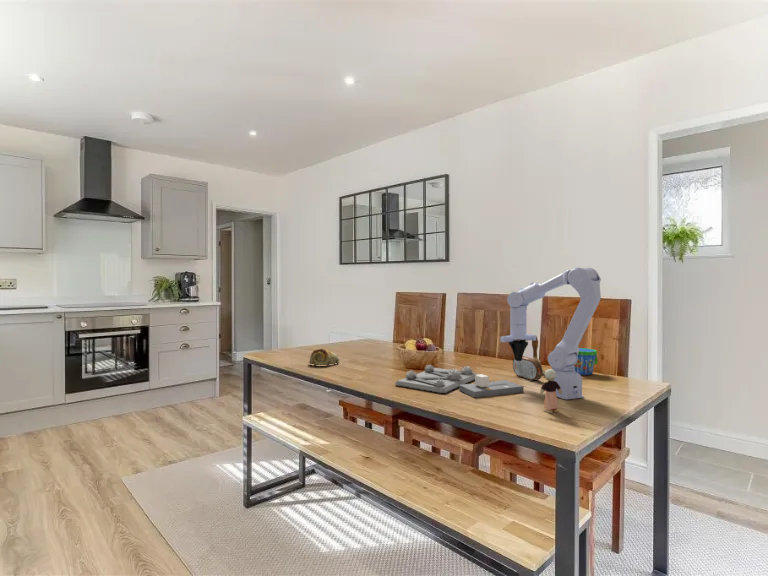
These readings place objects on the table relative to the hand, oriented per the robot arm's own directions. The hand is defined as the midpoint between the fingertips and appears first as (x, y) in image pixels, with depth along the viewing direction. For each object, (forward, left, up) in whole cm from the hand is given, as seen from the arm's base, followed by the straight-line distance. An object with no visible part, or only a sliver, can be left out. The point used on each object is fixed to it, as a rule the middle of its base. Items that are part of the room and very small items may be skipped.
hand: (518, 360), depth 158 cm
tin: (+9, -11, -10) cm, 17 cm away
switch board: (-3, +14, -9) cm, 17 cm away
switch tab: (-3, +18, -7) cm, 19 cm away
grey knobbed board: (+16, +25, -10) cm, 31 cm away
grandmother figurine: (-29, +11, -10) cm, 32 cm away
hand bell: (+16, -21, -10) cm, 28 cm away
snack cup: (+7, -38, -10) cm, 40 cm away
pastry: (+66, +59, -10) cm, 89 cm away
